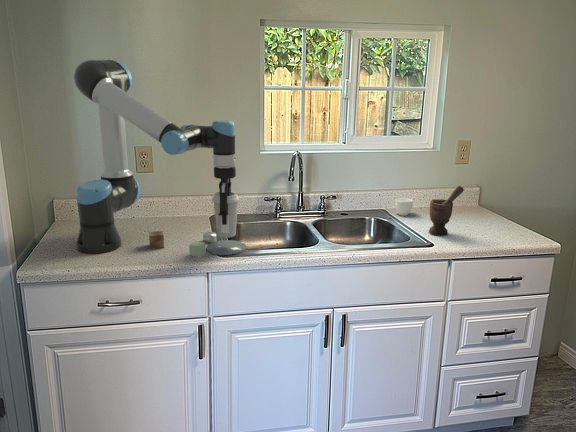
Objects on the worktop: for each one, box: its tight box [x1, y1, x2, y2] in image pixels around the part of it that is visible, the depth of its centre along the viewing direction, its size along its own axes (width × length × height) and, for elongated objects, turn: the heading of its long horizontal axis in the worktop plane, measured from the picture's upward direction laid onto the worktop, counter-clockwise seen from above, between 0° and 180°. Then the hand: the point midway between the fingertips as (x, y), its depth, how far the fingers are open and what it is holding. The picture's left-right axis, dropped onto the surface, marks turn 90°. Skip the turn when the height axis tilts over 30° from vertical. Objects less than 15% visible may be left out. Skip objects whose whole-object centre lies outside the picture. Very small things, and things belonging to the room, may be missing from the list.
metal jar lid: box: [202, 231, 218, 245], centre depth 199 cm, size 5×5×3 cm
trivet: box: [206, 239, 247, 256], centre depth 191 cm, size 14×14×1 cm
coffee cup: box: [211, 191, 240, 239], centre depth 188 cm, size 10×10×15 cm
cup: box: [394, 197, 414, 217], centre depth 237 cm, size 8×10×7 cm
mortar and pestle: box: [428, 185, 465, 237], centre depth 209 cm, size 12×9×20 cm
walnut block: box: [148, 230, 165, 250], centre depth 193 cm, size 5×5×5 cm
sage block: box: [188, 240, 207, 258], centre depth 185 cm, size 4×4×4 cm
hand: (226, 228), depth 189 cm, fingers closed on coffee cup, 8 cm apart
